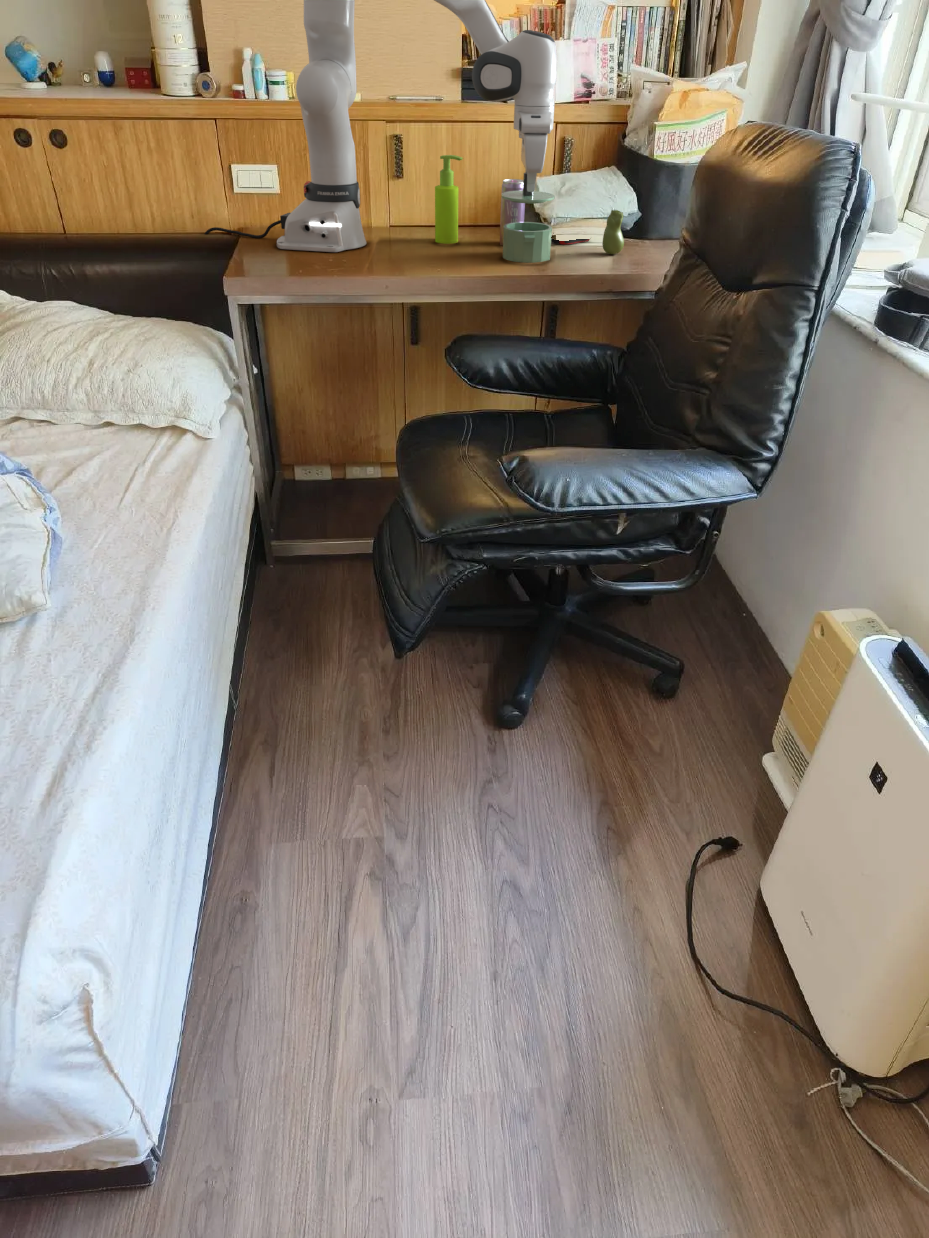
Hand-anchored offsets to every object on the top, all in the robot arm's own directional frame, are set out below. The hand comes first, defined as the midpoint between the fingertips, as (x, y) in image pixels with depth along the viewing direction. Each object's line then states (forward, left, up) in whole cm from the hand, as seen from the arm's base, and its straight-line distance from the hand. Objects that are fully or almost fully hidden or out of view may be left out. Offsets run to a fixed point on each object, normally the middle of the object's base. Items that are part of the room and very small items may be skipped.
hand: (530, 189), depth 191 cm
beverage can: (-3, +14, -15) cm, 21 cm away
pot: (0, 0, -15) cm, 15 cm away
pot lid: (0, 0, -2) cm, 2 cm away
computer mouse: (+13, +21, -15) cm, 29 cm away
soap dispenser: (-19, +16, -15) cm, 29 cm away
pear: (+22, +7, -15) cm, 28 cm away
